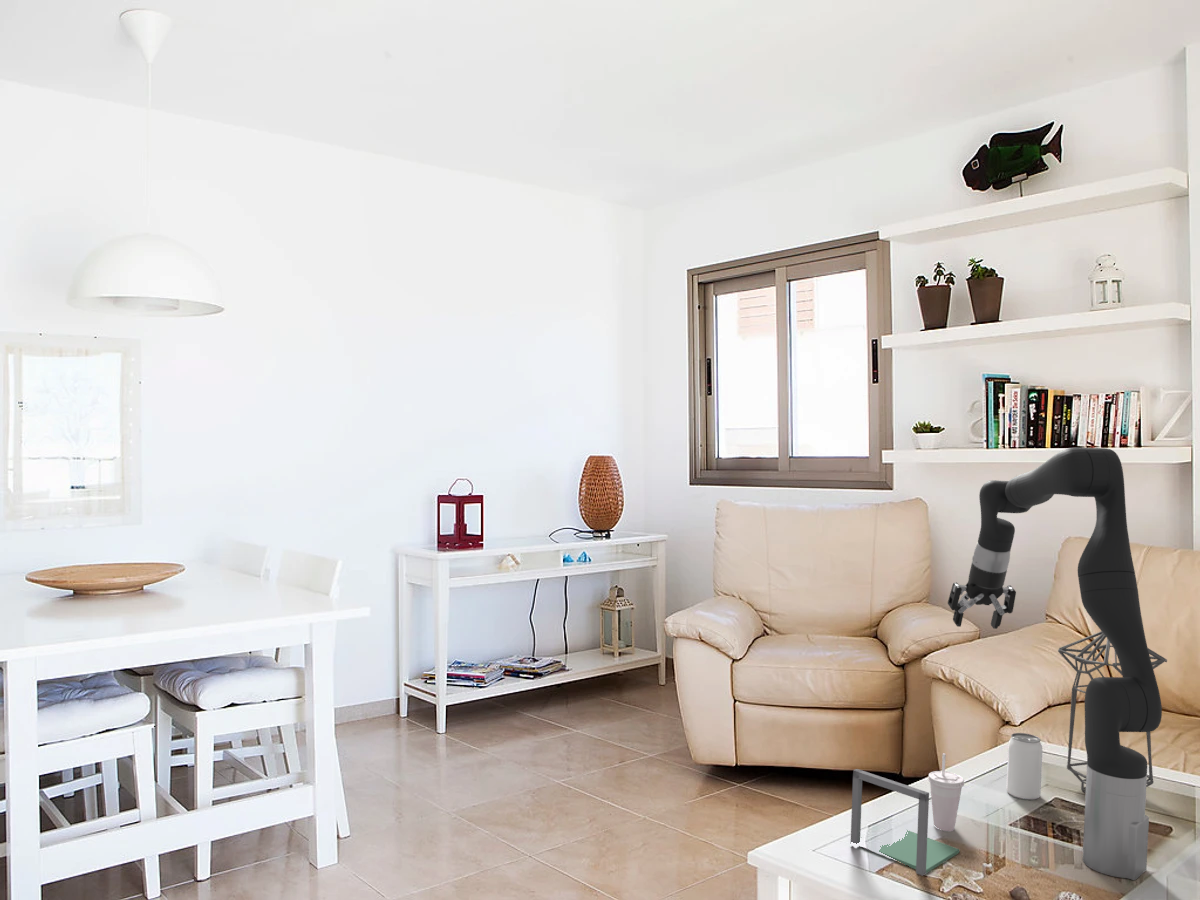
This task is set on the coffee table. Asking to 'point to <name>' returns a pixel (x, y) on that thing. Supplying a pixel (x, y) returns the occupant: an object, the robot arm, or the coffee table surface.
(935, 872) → the coffee table surface
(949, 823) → the smoothie
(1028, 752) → the can
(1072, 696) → the geometric lantern
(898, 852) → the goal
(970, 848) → the coffee table surface
